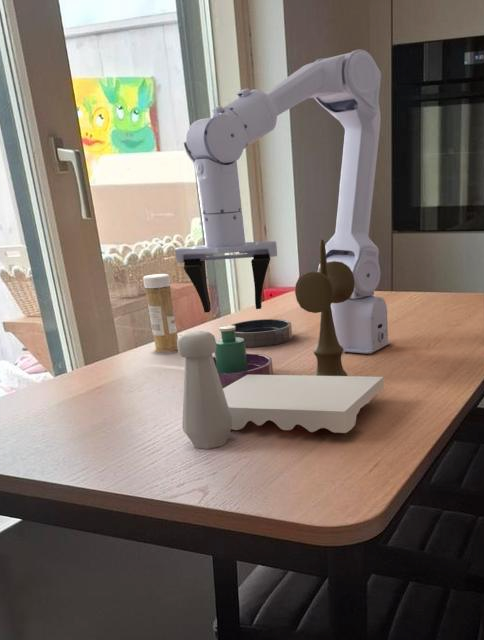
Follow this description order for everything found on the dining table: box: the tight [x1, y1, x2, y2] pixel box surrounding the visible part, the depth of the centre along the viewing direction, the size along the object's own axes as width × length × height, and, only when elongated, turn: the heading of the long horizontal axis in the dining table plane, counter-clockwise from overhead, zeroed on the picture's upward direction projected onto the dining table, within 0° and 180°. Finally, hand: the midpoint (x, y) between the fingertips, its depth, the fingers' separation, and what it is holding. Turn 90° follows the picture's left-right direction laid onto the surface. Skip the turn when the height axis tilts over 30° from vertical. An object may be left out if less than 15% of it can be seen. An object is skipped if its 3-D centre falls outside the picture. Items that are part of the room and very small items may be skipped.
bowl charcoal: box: [231, 318, 293, 348], centre depth 130 cm, size 12×12×3 cm
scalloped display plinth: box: [223, 374, 384, 434], centre depth 90 cm, size 15×3×20 cm
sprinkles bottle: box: [142, 273, 179, 353], centre depth 125 cm, size 5×5×13 cm
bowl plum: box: [213, 352, 274, 388], centre depth 105 cm, size 12×12×3 cm
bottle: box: [214, 324, 248, 373], centre depth 104 cm, size 5×5×8 cm
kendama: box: [294, 239, 355, 376], centre depth 99 cm, size 6×10×20 cm, turn 160°
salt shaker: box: [177, 330, 232, 450], centre depth 80 cm, size 6×6×13 cm
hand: (233, 309), depth 105 cm, fingers open, 7 cm apart
